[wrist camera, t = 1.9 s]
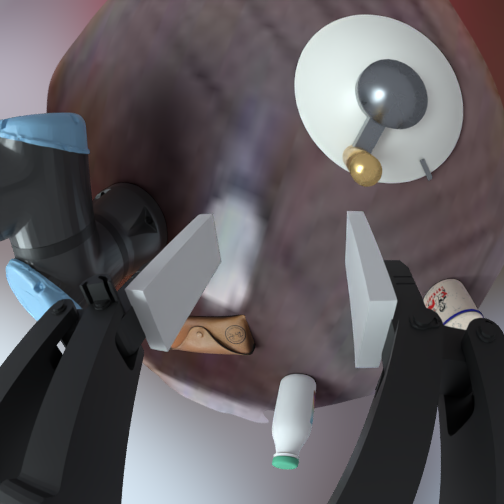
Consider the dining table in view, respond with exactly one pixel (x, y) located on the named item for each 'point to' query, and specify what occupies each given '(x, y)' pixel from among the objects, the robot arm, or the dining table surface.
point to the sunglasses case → (215, 335)
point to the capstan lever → (383, 113)
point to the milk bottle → (292, 418)
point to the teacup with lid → (452, 303)
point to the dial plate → (345, 104)
